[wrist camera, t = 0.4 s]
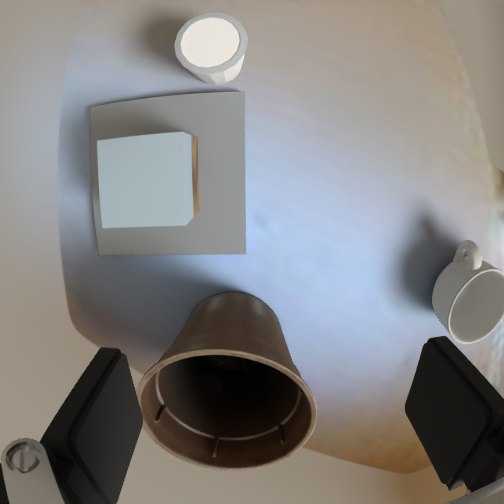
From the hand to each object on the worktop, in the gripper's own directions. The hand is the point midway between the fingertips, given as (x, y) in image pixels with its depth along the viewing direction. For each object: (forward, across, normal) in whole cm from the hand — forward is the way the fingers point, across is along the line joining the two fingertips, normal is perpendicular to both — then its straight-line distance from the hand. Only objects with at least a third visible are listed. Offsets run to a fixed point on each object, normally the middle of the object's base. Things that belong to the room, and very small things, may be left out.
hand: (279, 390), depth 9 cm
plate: (+28, +10, -5) cm, 31 cm away
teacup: (+29, -28, +8) cm, 41 cm away
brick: (+23, +10, -5) cm, 26 cm away
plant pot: (+29, +3, +15) cm, 33 cm away
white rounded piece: (+29, +4, -18) cm, 34 cm away
